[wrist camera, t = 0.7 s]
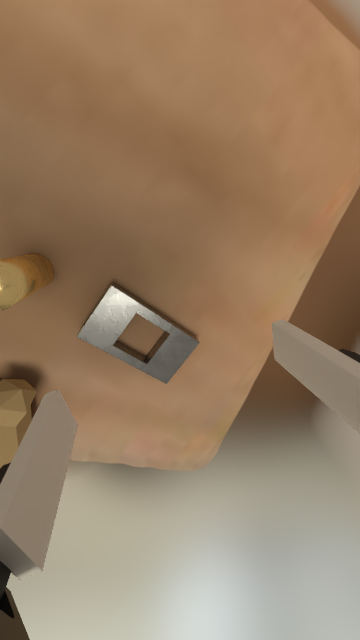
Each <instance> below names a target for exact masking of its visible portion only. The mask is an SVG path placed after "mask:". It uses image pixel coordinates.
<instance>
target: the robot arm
mask: <svg viewBox="0 0 360 640" xmlns="http://www.w3.org/2000/svg"><path fill="white" fill-rule="evenodd" d="M272 333H273V347H274V359H275V360H276V361H277V362H278V363H279V364H280V365H282V366H283V367H284V368H285V369H286V370H287V371H288V372H290V373H291V374H292V375H293V376H294V377H295V378H296V379H298V380H299V381H300V382H301V383H302V384H303V385H304V386H306V387H307V388H308V389H309V390H310V391H311V392H313V393H314V394H315V395H316V396H317V397H318V398H320V399H321V400H322V401H323V402H324V403H325V404H326V405H327V406H329V407H330V408H331V409H332V410H333V411H334V412H335V413H337V414H338V415H339V416H340V417H341V418H342V419H344V420H345V421H346V422H347V423H348V424H349V425H350V426H352V427H353V428H354V429H355V430H356V431H357V432H358V433H360V355H359V354H357V353H355V352H351V351H348V350H344V349H341V350H339V351H338V350H336V349H334V348H332V347H331V346H329V345H327V344H325V343H324V342H321V341H320V340H318V339H317V338H315V337H313V336H311V335H310V334H308V333H306V332H304V331H302V330H301V329H299V328H297V327H296V326H294V325H292V324H290V323H289V322H287V321H285V320H283V319H282V320H279V321H276V322H273V323H272ZM77 427H78V423H77V422H76V420H75V418H74V416H73V414H72V413H71V411H70V409H69V407H68V405H67V404H66V402H65V400H64V398H63V396H62V394H61V393H60V391H59V390H56V391H52V392H49V393H46V394H45V395H44V397H43V399H42V401H41V403H40V405H39V407H38V409H37V411H36V413H35V415H34V417H33V419H32V421H31V423H30V425H29V427H28V429H27V431H26V433H25V435H24V437H23V439H22V441H21V443H20V445H19V447H18V449H17V451H16V453H15V455H14V457H13V459H12V462H11V463H8V464H5V465H3V466H2V467H1V468H0V640H30V639H29V637H28V634H27V632H26V629H25V627H24V624H23V622H22V619H21V617H20V614H19V612H18V609H17V607H16V605H15V602H14V599H13V597H12V594H11V592H10V590H9V589H8V588H7V587H6V585H7V582H8V579H9V576H10V573H13V574H14V575H15V576H16V577H17V578H18V579H19V580H21V579H23V578H26V577H28V576H30V575H33V574H36V573H38V572H41V571H42V570H43V566H44V562H45V558H46V554H47V550H48V546H49V542H50V537H51V533H52V529H53V525H54V520H55V517H56V513H57V509H58V505H59V501H60V497H61V492H62V488H63V484H64V480H65V476H66V472H67V468H68V464H69V460H70V456H71V452H72V448H73V444H74V439H75V435H76V431H77Z"/></svg>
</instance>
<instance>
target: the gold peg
mask: <svg viewBox="0 0 360 640" xmlns="http://www.w3.org/2000/svg"><path fill="white" fill-rule="evenodd" d="M53 276H54V269H53V266H52V264H51V263H50V262H49V260H47V259H46V258H45V257H43V256H41V255H39V254H27V255H22V256H16V257H11V258H6V259H1V260H0V310H4V309H7V308H9V307H11V306H12V305H14V304H16V303H17V302H19V301H21V300H22V299H24V298H26V297H27V296H29V295H31V294H32V293H34V292H36V291H37V290H39V289H40V288H42V287H44V286H45V285H47V284H49V283H50V282H51V281H52V279H53Z"/></svg>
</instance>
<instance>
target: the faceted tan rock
mask: <svg viewBox="0 0 360 640" xmlns="http://www.w3.org/2000/svg"><path fill="white" fill-rule="evenodd" d="M36 392H37V391H36V390H35V389H34V388H33V387H32V386H31V385H30V384H29V383H28V382H27V381H26V380H25V379H2V378H0V468H1V467H2V466H3V465H5V464H8V463H11V462H12V459H13V457H14V455H15V453H16V451H17V449H18V447H19V445H20V443H21V441H22V439H23V437H24V435H25V433H26V431H27V429H28V427H29V425H30V423H31V421H32V415H31V403H32V401H33V399H34V397H35V394H36Z"/></svg>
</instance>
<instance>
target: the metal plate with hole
mask: <svg viewBox="0 0 360 640" xmlns="http://www.w3.org/2000/svg"><path fill="white" fill-rule="evenodd" d="M136 313H138V314H139V315H141V316H142V317H144V318H145V319H147V320H149V321H150V322H152V323H153V324H155V325H157V326H158V327H160V328H161V329H163V330H165V332H164V334H163V335H162V336H161V338H160V339H159V340H158V342H157V343H156V344H155V346H154V347H153V348H152V350H151V351H150V352H149V354H148V355H147V356H144V355H142V354H140V353H138V352H137V351H135V350H133V349H131V348H129V347H128V346H126V345H124V344H122V343H121V342H119V341H117V339H118V337H119V336H120V335H121V333H122V332H123V330H124V329H125V328H126V326H127V325H128V323H129V322H130V321H131V319H132V318H133V317H134V315H135V314H136ZM77 337H78V338H80V339H82V340H84V341H86V342H88V343H90V344H92V345H94V346H96V347H97V348H99V349H101V350H103V351H105V352H107V353H109V354H111V355H113V356H114V357H116V358H118V359H120V360H122V361H124V362H126V363H128V364H130V365H131V366H133V367H135V368H137V369H139V370H141V371H143V372H145V373H147V374H149V375H150V376H152V377H154V378H156V379H158V380H160V381H162V382H164V383H166V384H167V383H168V382H169V380H170V379H171V378H172V376H173V375H174V374H175V373H176V371H177V370H178V369H179V368H180V366H181V365H182V364H183V363H184V361H185V360H186V359H187V358H188V356H189V355H190V354H191V353H192V351H193V350H194V349H195V348H196V346H197V345H198V344H199V343H200V342H199V341H198V339H197V338H196V336H194V335H193V334H191V333H190V332H188V331H187V330H185V329H184V328H182V327H181V326H179V325H178V324H176V323H175V322H173V321H172V320H170V319H169V318H167V317H166V316H164V315H162V314H161V313H159V312H158V311H156V310H155V309H153V308H152V307H150V306H149V305H147V304H146V303H144V302H143V301H141V300H140V299H138V298H137V297H135V296H134V295H132V294H130V293H129V292H127V291H126V290H124V289H123V288H121V287H120V286H118V285H117V284H115V283H114V282H113V283H112V284H111V286H110V287H109V289H108V290H107V292H106V293H105V294H104V296H103V297H102V299H101V300H100V302H99V303H98V305H97V306H96V308H95V309H94V311H93V312H92V314H91V315H90V316H89V318H88V319H87V321H86V322H85V324H84V325H83V327H82V328H81V330H80V332H79V333H78V335H77Z"/></svg>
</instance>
